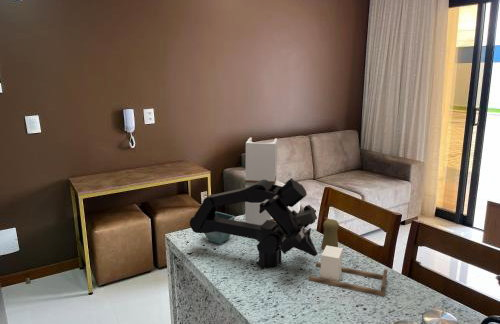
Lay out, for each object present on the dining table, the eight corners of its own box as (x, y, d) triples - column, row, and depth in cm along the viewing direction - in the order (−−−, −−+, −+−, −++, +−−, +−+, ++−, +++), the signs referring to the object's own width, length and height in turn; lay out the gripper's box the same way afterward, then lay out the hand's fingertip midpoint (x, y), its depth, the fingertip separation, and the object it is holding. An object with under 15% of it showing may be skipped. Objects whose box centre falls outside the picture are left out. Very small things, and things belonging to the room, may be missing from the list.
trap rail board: (305, 287, 112) (306, 276, 112) (318, 262, 127) (319, 252, 126) (382, 304, 105) (383, 292, 104) (387, 276, 119) (388, 265, 118)
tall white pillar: (273, 235, 147) (275, 143, 139) (245, 233, 149) (245, 142, 140) (275, 223, 158) (277, 138, 150) (248, 222, 160) (249, 137, 151)
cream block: (319, 280, 115) (321, 255, 113) (325, 269, 121) (326, 245, 120) (337, 283, 113) (338, 258, 111) (341, 272, 120) (343, 248, 118)
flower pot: (235, 239, 144) (235, 216, 142) (221, 247, 137) (221, 223, 135) (216, 233, 149) (216, 211, 147) (201, 241, 141) (201, 218, 139)
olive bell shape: (338, 255, 132) (340, 224, 130) (320, 253, 133) (322, 223, 131) (338, 247, 138) (340, 218, 135) (320, 245, 139) (322, 216, 137)
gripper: (292, 210, 107) (329, 254, 106) (309, 191, 124) (342, 229, 123) (264, 232, 112) (300, 274, 111) (284, 211, 129) (316, 247, 127)
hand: (316, 255), depth 118 cm, fingers closed
